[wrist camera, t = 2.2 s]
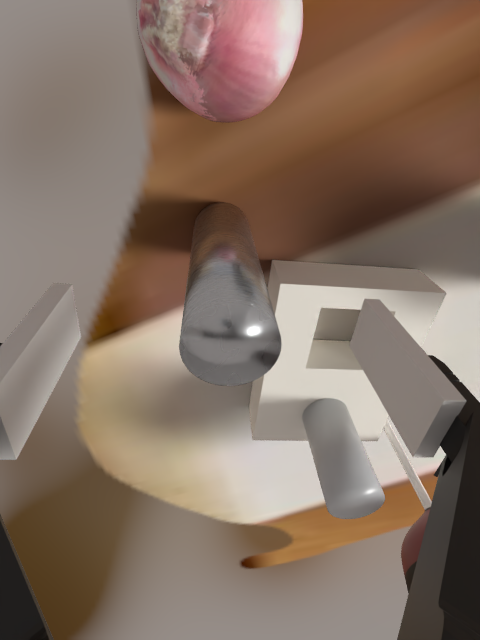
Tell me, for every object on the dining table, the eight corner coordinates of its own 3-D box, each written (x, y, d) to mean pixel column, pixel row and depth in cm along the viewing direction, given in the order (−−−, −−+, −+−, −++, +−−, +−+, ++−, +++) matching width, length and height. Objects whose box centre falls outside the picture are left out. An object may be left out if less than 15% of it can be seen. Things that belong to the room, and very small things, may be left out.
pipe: (194, 200, 24) (179, 301, 13) (252, 204, 25) (289, 306, 13) (193, 254, 26) (178, 384, 15) (246, 258, 27) (273, 387, 15)
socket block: (272, 259, 27) (308, 359, 17) (418, 269, 28) (532, 366, 18) (248, 407, 36) (263, 531, 26) (362, 409, 37) (418, 528, 27)
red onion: (133, 49, 20) (65, -41, 13) (235, -65, 19) (217, -235, 12) (223, 162, 22) (203, 133, 15) (326, 65, 20) (358, -19, 13)
